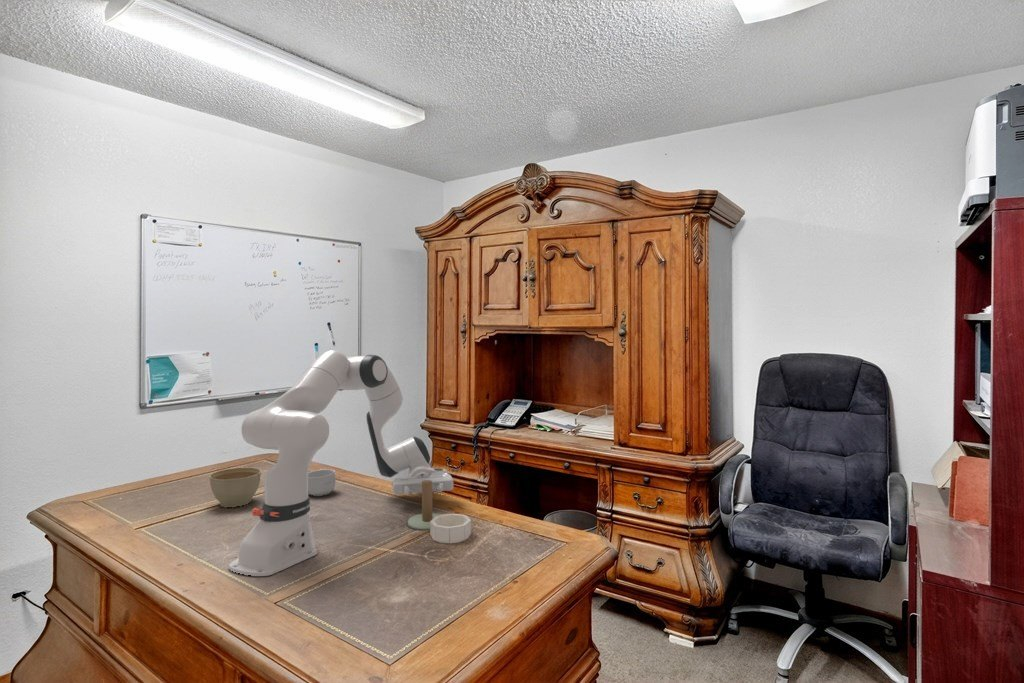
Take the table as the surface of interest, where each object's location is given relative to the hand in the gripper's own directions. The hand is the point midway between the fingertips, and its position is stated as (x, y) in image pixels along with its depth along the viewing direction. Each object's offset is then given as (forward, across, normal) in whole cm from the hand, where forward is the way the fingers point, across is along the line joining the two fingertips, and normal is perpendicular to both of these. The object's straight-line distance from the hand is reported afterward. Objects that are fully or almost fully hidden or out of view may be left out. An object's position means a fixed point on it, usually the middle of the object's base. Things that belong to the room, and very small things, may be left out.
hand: (424, 491), depth 176 cm
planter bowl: (-28, -63, +8) cm, 70 cm away
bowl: (+21, +6, +8) cm, 23 cm away
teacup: (-34, -36, +8) cm, 50 cm away
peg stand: (+8, 0, +7) cm, 11 cm away
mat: (+8, 0, +8) cm, 12 cm away
